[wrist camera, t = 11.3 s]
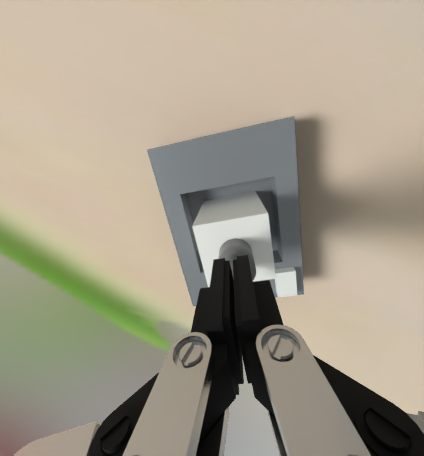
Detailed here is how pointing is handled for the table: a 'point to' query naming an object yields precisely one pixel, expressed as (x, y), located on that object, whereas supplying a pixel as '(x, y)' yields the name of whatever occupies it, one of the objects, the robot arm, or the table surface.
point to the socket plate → (234, 193)
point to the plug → (235, 234)
